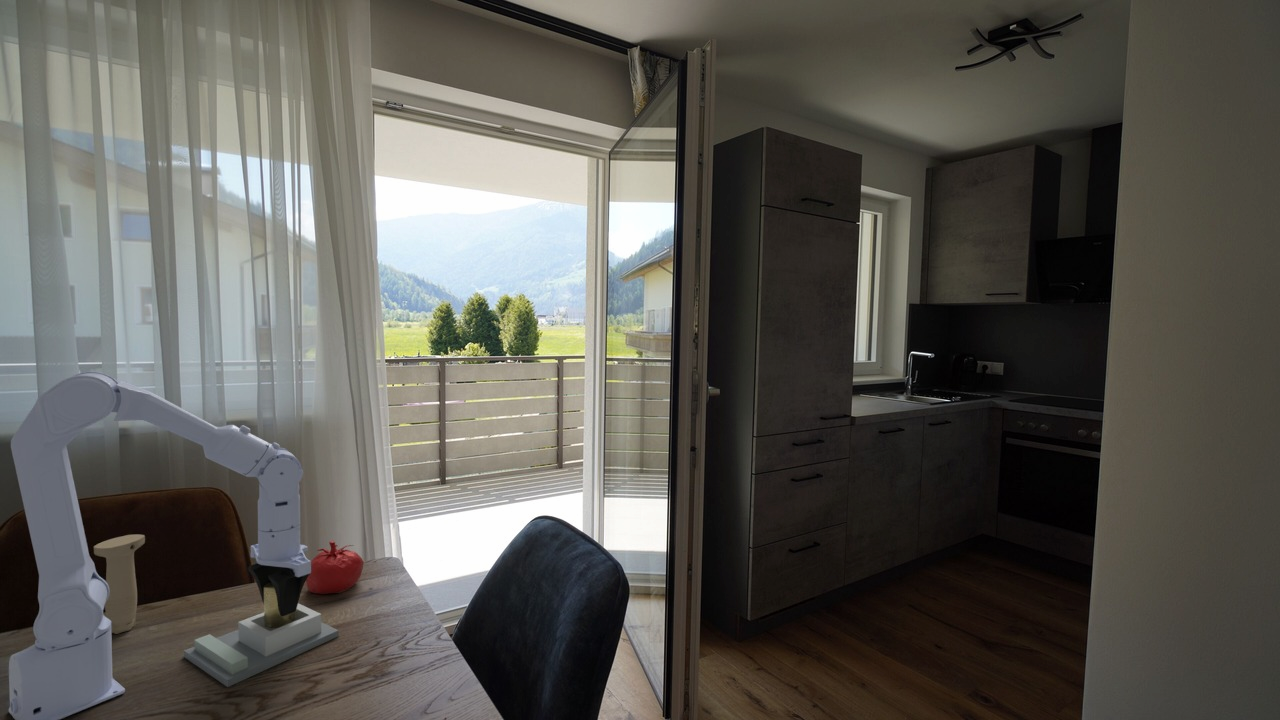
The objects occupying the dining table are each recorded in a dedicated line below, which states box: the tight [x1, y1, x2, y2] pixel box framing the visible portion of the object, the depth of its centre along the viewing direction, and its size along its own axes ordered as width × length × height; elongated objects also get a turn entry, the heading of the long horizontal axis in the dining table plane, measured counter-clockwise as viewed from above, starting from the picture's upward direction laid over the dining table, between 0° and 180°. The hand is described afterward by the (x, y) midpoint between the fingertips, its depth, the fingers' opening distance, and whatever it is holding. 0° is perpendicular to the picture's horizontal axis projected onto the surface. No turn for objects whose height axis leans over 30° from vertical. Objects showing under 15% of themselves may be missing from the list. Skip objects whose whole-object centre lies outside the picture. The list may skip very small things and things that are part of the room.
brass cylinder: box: [263, 582, 297, 628], centre depth 90 cm, size 4×4×6 cm
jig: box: [183, 602, 339, 688], centre depth 89 cm, size 16×14×4 cm
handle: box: [93, 533, 146, 635], centre depth 93 cm, size 5×6×15 cm
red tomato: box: [305, 540, 364, 595], centre depth 110 cm, size 10×10×9 cm
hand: (280, 609), depth 90 cm, fingers closed on brass cylinder, 4 cm apart
